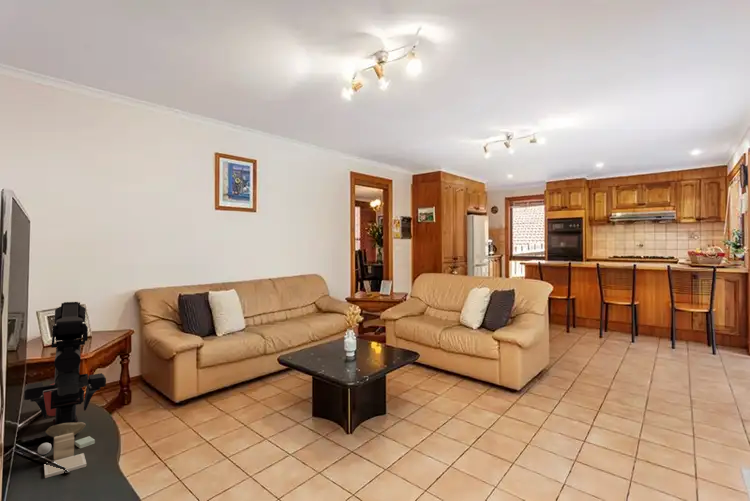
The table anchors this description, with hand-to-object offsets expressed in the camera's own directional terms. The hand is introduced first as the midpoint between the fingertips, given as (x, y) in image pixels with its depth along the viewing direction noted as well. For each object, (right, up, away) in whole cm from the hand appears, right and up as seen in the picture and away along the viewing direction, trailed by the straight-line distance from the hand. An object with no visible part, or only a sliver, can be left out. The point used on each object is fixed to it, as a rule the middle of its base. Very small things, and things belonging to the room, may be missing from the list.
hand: (65, 414), depth 114 cm
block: (-1, -13, 0) cm, 13 cm away
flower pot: (-24, -11, +28) cm, 39 cm away
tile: (0, -13, +7) cm, 15 cm away
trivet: (+4, -13, -5) cm, 14 cm away
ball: (-7, -11, 0) cm, 13 cm away
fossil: (-7, -12, +9) cm, 17 cm away
